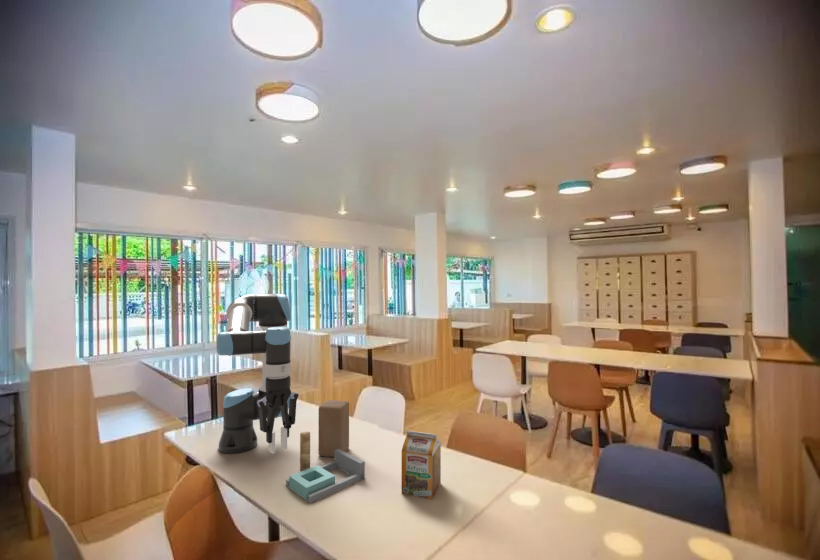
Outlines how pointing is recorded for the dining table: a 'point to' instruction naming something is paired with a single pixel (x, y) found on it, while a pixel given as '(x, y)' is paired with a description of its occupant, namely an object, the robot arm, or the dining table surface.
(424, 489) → the milk carton
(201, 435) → the dining table surface
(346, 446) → the block
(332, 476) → the teal square ring
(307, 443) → the dowel
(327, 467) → the track
